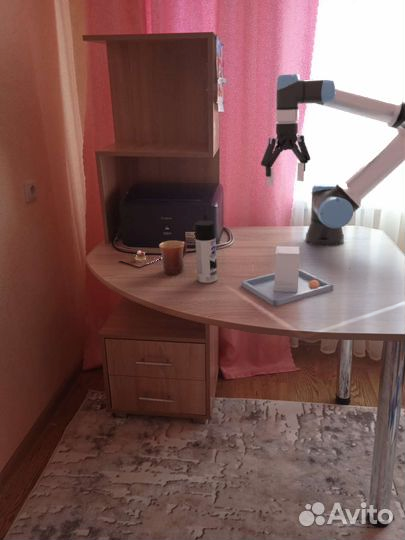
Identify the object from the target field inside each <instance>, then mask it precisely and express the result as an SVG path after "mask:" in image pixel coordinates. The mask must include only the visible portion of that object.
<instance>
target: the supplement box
mask: <svg viewBox="0 0 405 540" xmlns="http://www.w3.org/2000/svg"><path fill="white" fill-rule="evenodd" d="M299 269H300V246H296V245H295V246H281V245H277V246H275V252H274V273H275V278H274V291H277V292H298V277H299Z"/></svg>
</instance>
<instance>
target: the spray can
mask: <svg viewBox="0 0 405 540" xmlns="http://www.w3.org/2000/svg"><path fill="white" fill-rule="evenodd" d="M216 237H217V236H216V224H215V222H214V221H212V220H199V221H196V222H195V223H194V238H195V239H194V240H195V256H196V259H195V260H196V275H197V281H198V282H199V283H201V284H212V283H216V281H217V280H218V269H217V268H218V264H217V263H218V262H217V260H218V259H217V243H216V242H217V240H216Z"/></svg>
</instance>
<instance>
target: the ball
mask: <svg viewBox="0 0 405 540" xmlns="http://www.w3.org/2000/svg"><path fill="white" fill-rule="evenodd" d="M318 287H319V282H318V281H316V280H312V281H310V282H309V288H310V289H314V288H318Z"/></svg>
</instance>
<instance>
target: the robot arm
mask: <svg viewBox="0 0 405 540" xmlns="http://www.w3.org/2000/svg"><path fill="white" fill-rule="evenodd" d="M276 80H277V81H276V110H275V111H276V114H275V115H276V116H275V117H276V118H275V121H276V124H275V133H276V138H275V137H269V138H268V145H267V147H266V150H265V153H264V154H263V157H262V159H261V162H260V166H262V167H265V177H266V179H267V180H266V181H267V183H266V185H267V186H269V187H274V174H275V173H274V171H275V170H274V168H275V167H273V166H274V164H275V163H276V160H278V157H279V156H280V154H281V153H283V151H288V150H290V151H292V153H293V154H294V155H295V157H296V159H298V161H299V162H297V178H296V180H297V181H298V182H304V178H305V177H304V175H305V172H306V164H307V163H308V162H309V161H311V156H310V153H309V151H308V147H307V145H306V143H305V135H303V134H302V135H301V134H298V132H299V123H298V121H299V104H302V105H303V104H316V105H319V106H320V105H321V106H324V107H329V108H331V109H336V110H337V111H343V112H346V113H349V114H354V115H357V116H361V117H365V118H368V119H372V120H375V121H379V122H383V123H386V124H387V126H388V127H390V128H394V129H396V130H397V133H396V134H395V135H394V136H393V137H392V138H391V139H390V140H389V141H388V142H387V143H385V145H384V146H382V147H381V148H380V149H379V150H378V151H377V152H376V153H375V154H374V155H372V157H371V158H370V159H368V161H367V162H366V163H364V165H362V166H361V167H360V168H359V169H357V171H356V172H355V173H354V174H353V175H351V176H350V178H348V179H347V180H346V181H345V182H344V183H337V184H333V183H331V184H330V183H329V184H328V183H327V184H326V183H325V184H324V183H323V184H315V185H314V186H312V190H311V208H310V209H311V210H310V211H311V212H310V224H309V227H308V229H307V232H306V233H305V242H306V243H308V244H310V245H313V246H316V247H317V246H318V247H334V246H335V247H336V246H339V245H341V244H343V243H344V240H345V236H344V235H345V234H344V232H343V227H345V226H347V225H348V224H349V223H350V222H351V220H352V219H353V216H354V213H355V212H357V210H358V209H360V207H361V202H362V200H363V199H364V198H366V197H367V195H369V194H370V192H372V191H373V190H374V189H375V188H376V187H377V186H378V185H379V184H381V183H382V182H383V181H384V180H385V179H386V178H387V177H388V176H389V175H390V174H392V173H393V172H394V171H395V170H396V169H397V168H398V167H400V166H401V164H403V162H404V161H405V100H402V99H398V100H396V101H394V100H390V99H387V98H382V97H379V96H375V95H371V94H367V93H364V92H362V91H361V92H360V91H357V90H353V89H350V88H349V89H348V88H345V87H342V86H337V85H336V81H335V80H334V79H331V78H324V79H321V78H320V79H307V80H304V79H301V78H300V74H298V73H297V74H294V73H293V74H280V75H278V77H277V79H276ZM297 134H298V135H297ZM297 144H298V145H297Z"/></svg>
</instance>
